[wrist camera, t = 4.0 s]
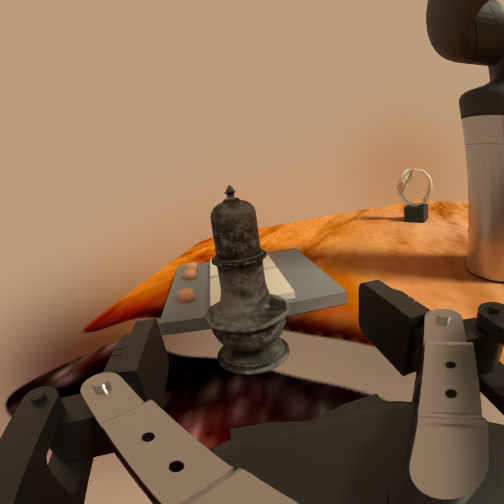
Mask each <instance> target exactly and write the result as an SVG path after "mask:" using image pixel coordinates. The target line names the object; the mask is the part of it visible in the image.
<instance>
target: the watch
mask: <svg viewBox="0 0 504 504" xmlns="http://www.w3.org/2000/svg"><path fill="white" fill-rule="evenodd" d="M414 170H418V171H421V172H422V173H424V174H425V175H426V176H427V177H428V179H429V187H428V191H427V194H426V196H425V198H424V199H423V202H422V203H418V204H416V203H412V202H409V201H408V200H407V199H406V198H405V196H403V192H404V190H405V189H406V187H407V185H408V184H409V182H410V180H411V177H412V172H413V171H414ZM432 185H433V184H432V180H431V177H430V175H429V174H428V173H427V172H426V171H424V170H423V169H419V168H413V169H409V170H407V169H406V170H405V171H404V172H403V174H402V176H401V177H400V180H399V182H398V185H397V189H398V193H399V196H400V197H401V199H402V200H403V201H404V202H405V203H406V204H408V205H407V206H405V207H404V217H405V222H419V223H424V222H425V221H426V220H427V219H428V204H423V203H426V202H427V201H428V199H429V197H430V195H431V193H432V189H433V186H432Z"/></svg>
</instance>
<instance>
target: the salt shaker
mask: <svg viewBox="0 0 504 504" xmlns="http://www.w3.org/2000/svg"><path fill="white" fill-rule="evenodd" d="M234 192H235V191H234V190H233V188H232V187H231V186H228V188H227V189H226V192H225V193H226V194H227V199H225V200H224V201H223V202H222V203H221V204H218V205H217V206H216V207H215V208H214V209H213V211H212V212H211V224H212V231H213V237H214V244H215V250H216V256H215V257H214V258H213V259H212V260H211V262H212V264H213V265H215V266H217V270H218V276H219V282H220V287H221V296H220V301H219V302H217V303H215V304H214V305H213V306H211V307H210V308H209V309H208V310H207V312H206V314H205V321H206V323H207V324H208V325H209V326H210V327H211V328H212V331H213V333H214V335H215V336H216V338H217V339H218V340H219V341H220V342H221V343H222V344H223V345H224V346H223V347H222V348H221V349H220V351H219V352H218V357H217V358H218V361H219V364H220V365H221V366H222V367H223V368H224V369H226V370H228V371H230V372H233V373H237V374H258V373H262V372H266V371H269V370H271V369H274V368H276V367H278V366H279V365H280V364H282V363H283V362H284V361H285V360H286V358H287V357H288V355H289V346H288V344H287V343H286V342H285V341H284V340H283V339H281V338H280V337H279V336H280V335H281V334H282V331H283V328H284V325H285V322H286V316H287V315H288V313H289V310H290V306H289V303H288V302H287V301H286V300H285V299H284V298H282V297H280V296H277V295H273V294H270V293H269V290H268V288H267V285H266V282H265V274H264V266H263V259H264V258H265V257H266V256H267V252H266V251H264V250H262V249H260V243H259V235H258V227H257V219H256V211H255V209H254V207H253V206H252V205H251V204H250V203H249V202H247V201H243V200H240V199H238V198H235V197H234Z"/></svg>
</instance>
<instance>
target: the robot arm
mask: <svg viewBox="0 0 504 504" xmlns="http://www.w3.org/2000/svg"><path fill="white" fill-rule="evenodd" d="M426 23H427V32H428V36H429V39H430V42H431V44H432V46H433V47H434V49H435V50H436V52H438V54H439V55H441V56H442V57H443V58H445V59H447V60H451V61H453V62H458V63H466V64H476V65H485V66H488V68H489V73H490V82H489V83H488V84H486V85H484V86H482V87H478V88H475V89H472V90H470V91H467V92H465V93H464V94H463V95H461V97H460V99H459V106H460V113H461V118H462V126H463V133H464V141H465V149H466V160H467V175H468V200H469V227H468V252H467V268H468V269H469V271H471V272H472V273H474V274H476V275H477V276H480V277H483V278H486V279H490V280H495V281H502V282H504V6H503V5H502V4H501V3H499V2H498V1H496V0H428V5H427V12H426ZM359 325H360V328H361V331H362V332H363V334H364V335H365V336H366V337H367V338H368V339H369V340H370V341H371V342H372V343H373V344H374V345H375V346H376V348H377V349H378V350H379V351H380V352H381V353H382V354H383V355H384V356H385V357H386V358H387V359H388V360H389V362H390V363H391V364H392V365H393V366H394V367H395V368H396V369H397V370H398V371H399V372H400V373H401V374H402V376H405V375H408V374H410V373H413V372H416V373H417V374H416V379H415V385H414V392H413V398H412V402H403V401H392V402H383V401H382V400H381V399H380V397H379V396H378V395H377V394H374V395H371V396H368V397H365V398H362V399H359V400H356V401H353V402H349V403H346V404H343V405H341V406H339V407H337V408H335V409H333V410H331V411H329V412H327V413H325V414H323V415H321V416H319V417H317V418H315V419H312V420H309V421H297V422H268V423H262V424H257V425H251V426H245V427H239V428H232V429H230V434H231V440H228V441H225V442H223V443H221V444H219V445H216V446H215V447H213V448H211V449H207V448H206V447H205V446H204V445H202V444H201V443H200V442H199V441H198V440H196V439H195V438H194V437H193V436H192V435H190V434H189V433H188V432H187V431H186V430H185V429H183V428H182V427H181V426H180V425H179V424H178V423H177V422H175V421H174V420H173V419H172V418H171V417H170V416H169V415H168V414H167V413H166V412H164V411H163V410H162V406H163V400H164V393H165V387H166V381H167V375H168V370H169V363H168V356H167V352H166V349H165V346H164V342H163V339H162V335H161V332H160V328H159V324H158V322H157V320H156V319H148V320H140V321H137V322H136V324H135V326H134V328H133V330H132V332H131V334H126V335H125V336H124V337H123V338H121V339H120V340H119V341H118V342H117V344H116V346H115V348H114V351H113V353H112V355H111V357H110V359H109V361H108V363H107V365H106V367H105V369H104V371H103V373H100V374H97V375H94V376H92V377H90V378H89V379H87V380H86V381H85V382H84V383H83V385H82V386H81V394H78V395H73V396H69V397H64V398H60V396H59V394H58V392H57V390H56V389H55V388H53V387H50V386H43V387H38V388H36V389H33V390H32V391H30V392H29V393H27V394H26V395H25V396H24V398H23V399H22V401H21V403H20V404H19V406H18V408H17V410H16V411H15V413H14V415H13V416H12V418H11V420H10V422H9V424H8V425H7V427H6V429H5V431H4V433H3V435H2V436H1V438H0V504H84V500H85V495H86V490H87V485H88V480H89V476H90V471H91V467H92V462H93V457H96V456H101V455H106V454H110V453H115V454H116V456H117V457H118V458H119V460H120V461H121V463H122V464H123V466H124V467H125V468H126V470H127V471H128V472H129V474H130V475H131V476H132V478H133V479H134V480H135V481H136V483H137V484H138V485H139V487H140V488H141V489H142V490H143V492H144V493H145V494H146V495H147V497H148V498H149V499H150V501H151V502H152V503H153V504H504V425H501V424H496V423H491V422H487V420H486V419H485V418H483V417H482V411H481V398H480V392H481V393H482V394H483V395H484V396H485V397H486V398H487V399H488V400H489V401H490V402H491V403H492V404H493V405H494V406H495V407H496V408H497V409H498V410H499V411H500V412H501V413H502V414H503V415H504V365H503V364H502V363H501V362H500V361H499V360H500V357H501V353H502V350H503V346H504V304H501V303H496V302H487V303H483V304H481V305H480V306H479V308H478V313H477V318H471V319H464V320H463V319H462V316H461V315H460V314H459V313H457V312H455V311H453V310H449V309H435V310H429V309H428V308H426V307H425V306H423V305H422V304H420V303H419V302H417V301H415V300H414V299H412V298H411V297H409V296H408V295H406V294H405V293H403V292H402V291H399V290H395V289H392V288H390V287H389V286H387V285H386V284H384V283H383V282H381V281H380V280H374V281H369V282H365V283H361V284H360V286H359ZM49 448H50V449H51V451H52V455H51V458H50V461H49V463H48V465H47V461H46V457H47V452H48V450H49Z"/></svg>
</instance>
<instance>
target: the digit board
mask: <svg viewBox="0 0 504 504" xmlns="http://www.w3.org/2000/svg"><path fill="white" fill-rule="evenodd" d="M211 260H212V259H210V262H205V263H199V264H197V262H189V263H186V264H185V266H180V267H178V269H177V271H176V274H175V277H174V280H173V283H172V286H171V289H170V292H169V295H168V298H167V301H166V304H165V307H164V310H163V313H162V316H161V319H160V322H159V325H160V328H161V332H162V335H169V334H177V333H184V332H191V331H199V330H205V329H212V328H211V327H210V326H209V325H208V324H207V323H206V321H205V314H206V312H207V310H208V309H209V308H210V307H211V306H213V305H214V304H215V303H217V302H219V301H220V296H221V287H220V282H219V276H218V270H217V266H215V265H213V264H212V262H211ZM263 266H264V274H265V282H266V285H267V288H268V290H269V293H270V294H273V295H277V296H280V297H282V298H284V299H285V300H286V301H287V302H288V303H289V306H290V310H289V313H288V315H287V316H289V315H294V314H299V313H304V312H309V311H314V310H319V309H323V308H328V307H333V306H337V305H342V304H346V303H347V291H346V290H345V289H343V288H342V287H341V286H340V285H339V284H338V283H336V282H335V281H334V280H333V279H332V278H331V277H329V276H328V275H327V274H326V273H325V272H324V271H322V270H321V269H320V268H319V267H318V266H317V265H315V264H314V263H313V262H312V261H311V260H310V259H308V258H307V257H306V256H305V255H304V254H302V253H301V252H300V251H299V250H298V249H296V248H294V249H288V250H282V251H275V252H269V253H267V256H266V257H265V258H264V259H263Z"/></svg>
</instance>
